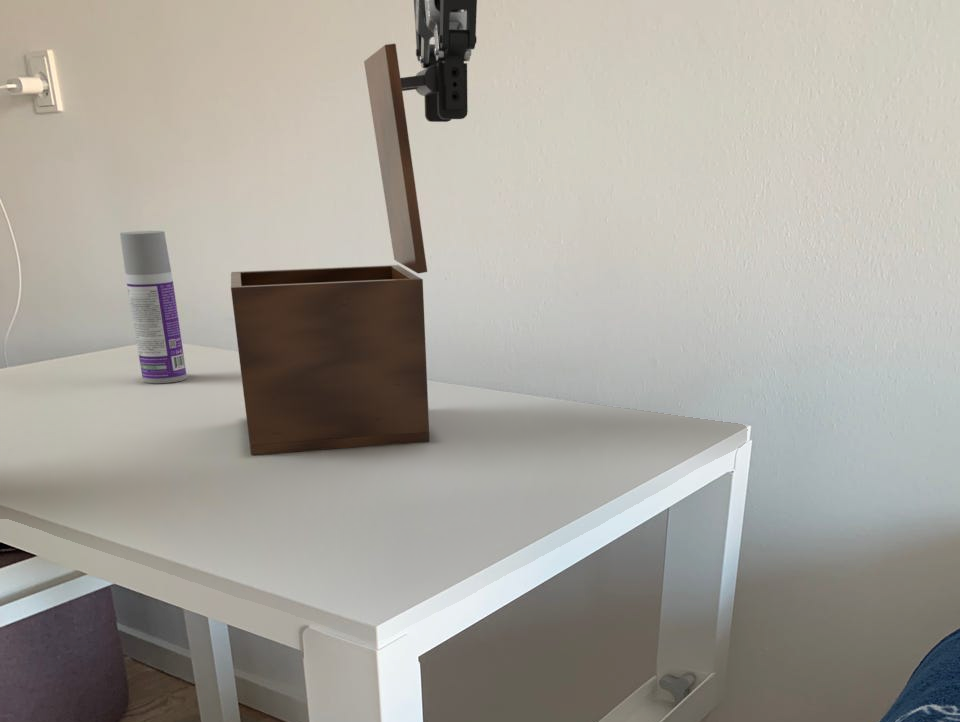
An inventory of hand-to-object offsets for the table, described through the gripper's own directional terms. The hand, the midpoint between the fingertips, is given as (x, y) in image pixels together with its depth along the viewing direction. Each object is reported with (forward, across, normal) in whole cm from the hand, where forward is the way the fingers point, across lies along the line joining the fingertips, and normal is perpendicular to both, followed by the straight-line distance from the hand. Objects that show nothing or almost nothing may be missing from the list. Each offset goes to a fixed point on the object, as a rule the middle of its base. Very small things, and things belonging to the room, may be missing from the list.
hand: (445, 119), depth 79 cm
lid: (+3, 0, -5) cm, 6 cm away
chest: (+24, 0, -10) cm, 26 cm away
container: (+25, -29, -26) cm, 46 cm away
